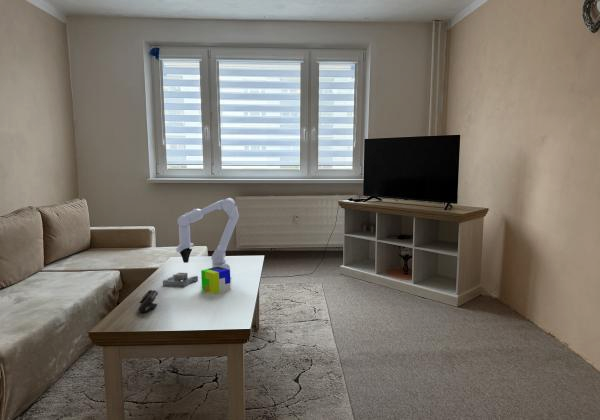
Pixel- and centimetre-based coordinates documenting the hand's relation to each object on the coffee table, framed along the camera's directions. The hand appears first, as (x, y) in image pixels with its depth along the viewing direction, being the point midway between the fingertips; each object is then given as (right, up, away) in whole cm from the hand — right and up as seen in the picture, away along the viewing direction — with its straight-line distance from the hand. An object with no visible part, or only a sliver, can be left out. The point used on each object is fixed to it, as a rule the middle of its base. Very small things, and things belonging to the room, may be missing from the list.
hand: (185, 262), depth 224 cm
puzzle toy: (+20, -12, -18) cm, 29 cm away
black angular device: (-4, -15, -44) cm, 47 cm away
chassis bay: (-2, -10, -6) cm, 12 cm away
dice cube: (-1, -10, -6) cm, 12 cm away
